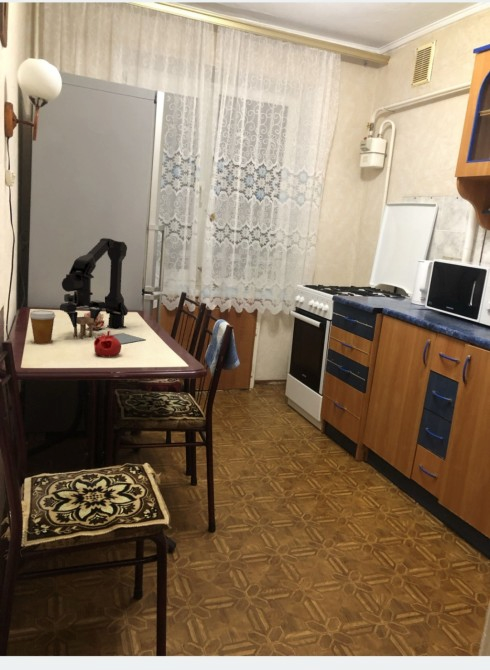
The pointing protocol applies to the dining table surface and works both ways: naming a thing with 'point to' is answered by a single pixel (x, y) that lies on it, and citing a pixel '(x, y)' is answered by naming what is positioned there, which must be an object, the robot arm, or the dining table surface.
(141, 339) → the mat
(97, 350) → the pomegranate
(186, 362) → the dining table surface
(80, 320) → the stool
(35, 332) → the disposable coffee cup
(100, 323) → the flower
